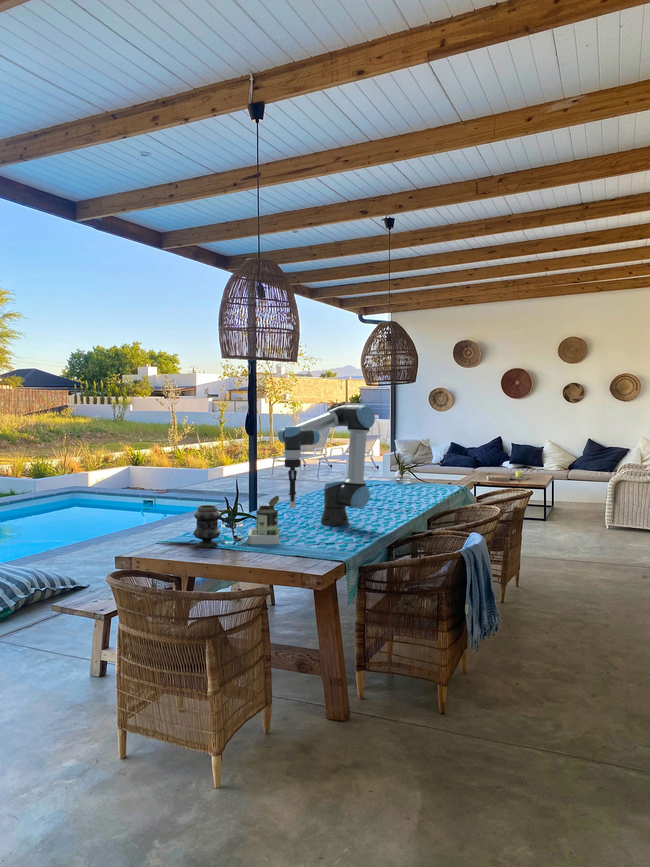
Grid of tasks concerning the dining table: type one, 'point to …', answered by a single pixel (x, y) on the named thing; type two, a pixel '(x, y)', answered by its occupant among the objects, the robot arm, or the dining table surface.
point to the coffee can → (266, 522)
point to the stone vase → (207, 525)
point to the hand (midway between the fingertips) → (292, 507)
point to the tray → (262, 538)
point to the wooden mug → (271, 503)
